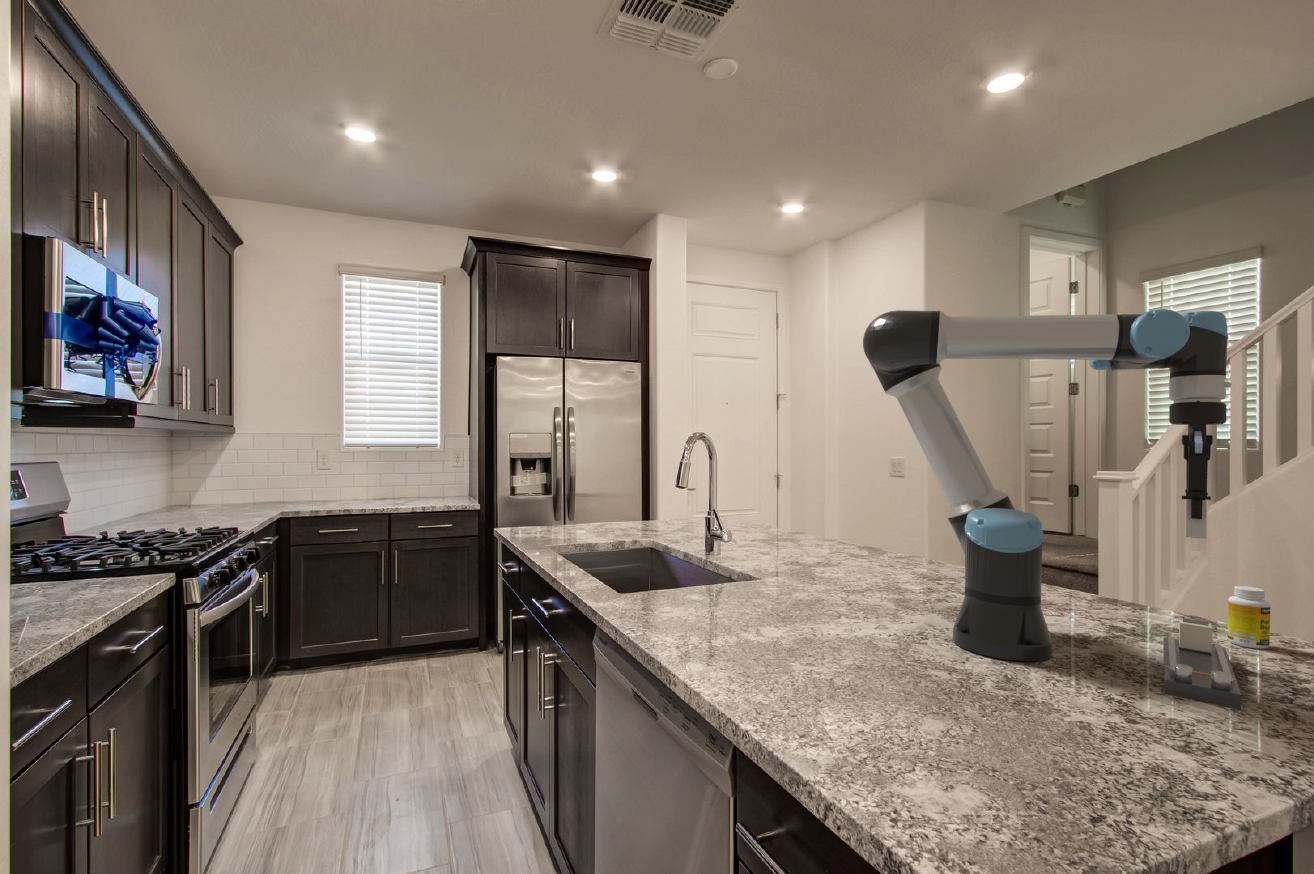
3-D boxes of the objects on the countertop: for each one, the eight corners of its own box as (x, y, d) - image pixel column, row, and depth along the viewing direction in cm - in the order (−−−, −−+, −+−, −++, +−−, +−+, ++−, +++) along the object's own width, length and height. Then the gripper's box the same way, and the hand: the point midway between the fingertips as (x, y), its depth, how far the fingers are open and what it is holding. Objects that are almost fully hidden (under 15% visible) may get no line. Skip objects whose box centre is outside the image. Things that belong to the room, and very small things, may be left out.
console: (1164, 693, 89) (1165, 665, 89) (1163, 648, 109) (1163, 625, 109) (1241, 709, 84) (1241, 679, 84) (1224, 659, 104) (1225, 635, 104)
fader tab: (1179, 647, 103) (1179, 619, 103) (1178, 642, 105) (1179, 615, 105) (1211, 652, 100) (1212, 624, 100) (1210, 648, 103) (1211, 620, 103)
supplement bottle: (1264, 651, 109) (1265, 593, 109) (1222, 642, 113) (1223, 586, 113) (1273, 646, 112) (1274, 589, 112) (1232, 638, 116) (1233, 583, 117)
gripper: (1229, 398, 101) (1228, 544, 101) (1223, 403, 111) (1221, 535, 111) (1170, 400, 106) (1168, 539, 106) (1168, 404, 116) (1167, 531, 116)
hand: (1195, 537), depth 108 cm, fingers closed
